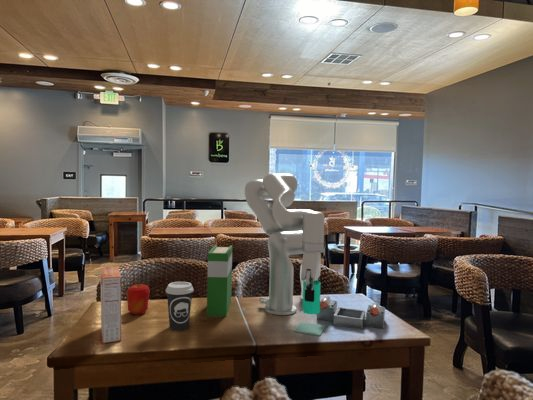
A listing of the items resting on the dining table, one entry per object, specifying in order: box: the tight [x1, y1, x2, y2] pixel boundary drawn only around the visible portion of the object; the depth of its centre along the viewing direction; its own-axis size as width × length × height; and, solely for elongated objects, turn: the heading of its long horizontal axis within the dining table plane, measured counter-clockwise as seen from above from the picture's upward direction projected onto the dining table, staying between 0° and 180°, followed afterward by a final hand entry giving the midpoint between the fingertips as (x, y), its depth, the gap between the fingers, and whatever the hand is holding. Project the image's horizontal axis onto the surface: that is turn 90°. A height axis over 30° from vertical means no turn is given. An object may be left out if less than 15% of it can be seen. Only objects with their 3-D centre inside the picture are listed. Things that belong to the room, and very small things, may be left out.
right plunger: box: [370, 301, 381, 316], centre depth 138 cm, size 3×8×3 cm, turn 160°
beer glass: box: [299, 263, 306, 300], centre depth 170 cm, size 7×7×15 cm
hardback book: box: [206, 244, 233, 318], centre depth 153 cm, size 18×7×24 cm, turn 179°
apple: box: [126, 282, 151, 316], centre depth 146 cm, size 9×8×12 cm
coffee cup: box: [165, 281, 195, 332], centre depth 133 cm, size 10×10×15 cm
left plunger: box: [320, 295, 332, 309], centre depth 144 cm, size 3×8×3 cm, turn 160°
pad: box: [293, 321, 326, 337], centre depth 135 cm, size 9×9×1 cm
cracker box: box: [100, 266, 122, 344], centre depth 126 cm, size 14×6×21 cm, turn 24°
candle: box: [302, 280, 322, 315], centre depth 134 cm, size 6×6×12 cm
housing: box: [316, 298, 386, 330], centre depth 143 cm, size 24×13×6 cm, turn 70°
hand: (311, 298), depth 134 cm, fingers closed on candle, 4 cm apart
